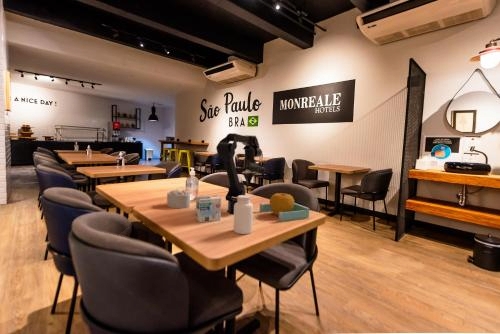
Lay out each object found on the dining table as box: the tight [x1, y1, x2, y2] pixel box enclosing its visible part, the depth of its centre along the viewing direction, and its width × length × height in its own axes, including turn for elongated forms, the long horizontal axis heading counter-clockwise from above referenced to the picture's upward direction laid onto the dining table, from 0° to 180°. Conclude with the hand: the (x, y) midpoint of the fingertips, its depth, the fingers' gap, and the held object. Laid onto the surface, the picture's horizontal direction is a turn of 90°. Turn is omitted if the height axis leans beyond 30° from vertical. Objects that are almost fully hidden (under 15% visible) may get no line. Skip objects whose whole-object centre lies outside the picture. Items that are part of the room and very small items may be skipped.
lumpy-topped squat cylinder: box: [166, 189, 191, 209], centre depth 148 cm, size 10×13×9 cm
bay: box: [259, 202, 310, 223], centre depth 138 cm, size 18×20×5 cm
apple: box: [269, 192, 295, 217], centre depth 138 cm, size 13×13×11 cm
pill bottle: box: [233, 194, 254, 235], centre depth 110 cm, size 8×8×15 cm
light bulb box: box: [195, 195, 222, 223], centre depth 125 cm, size 11×7×11 cm, turn 117°
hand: (248, 184), depth 151 cm, fingers closed
